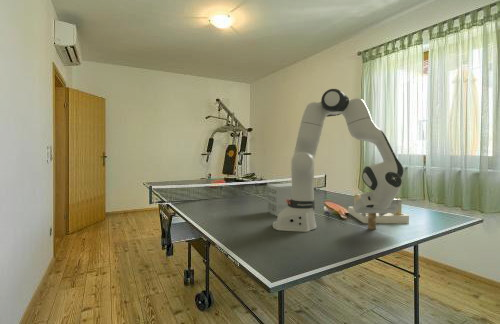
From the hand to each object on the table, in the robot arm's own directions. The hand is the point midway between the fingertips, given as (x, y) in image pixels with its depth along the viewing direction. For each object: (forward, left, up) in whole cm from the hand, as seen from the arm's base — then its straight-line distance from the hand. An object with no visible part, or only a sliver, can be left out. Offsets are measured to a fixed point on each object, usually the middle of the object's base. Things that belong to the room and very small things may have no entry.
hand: (371, 215), depth 138 cm
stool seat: (+12, +21, -7) cm, 25 cm away
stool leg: (0, -1, -7) cm, 7 cm away
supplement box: (-40, +33, -7) cm, 53 cm away
